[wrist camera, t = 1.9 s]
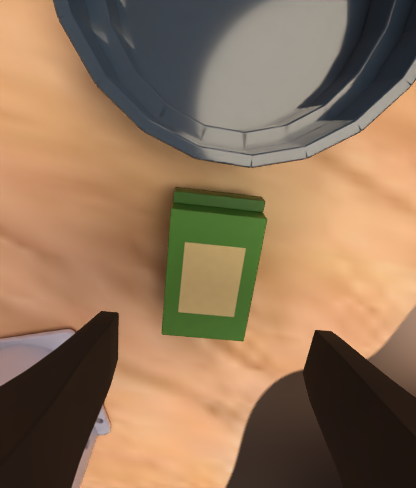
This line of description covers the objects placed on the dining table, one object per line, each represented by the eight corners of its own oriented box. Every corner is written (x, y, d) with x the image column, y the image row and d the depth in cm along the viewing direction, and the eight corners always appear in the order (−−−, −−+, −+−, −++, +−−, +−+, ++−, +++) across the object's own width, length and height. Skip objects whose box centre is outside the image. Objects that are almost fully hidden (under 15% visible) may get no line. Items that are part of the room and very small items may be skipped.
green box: (236, 317, 20) (242, 351, 17) (166, 311, 20) (160, 344, 17) (258, 192, 17) (270, 206, 14) (176, 183, 17) (171, 195, 14)
